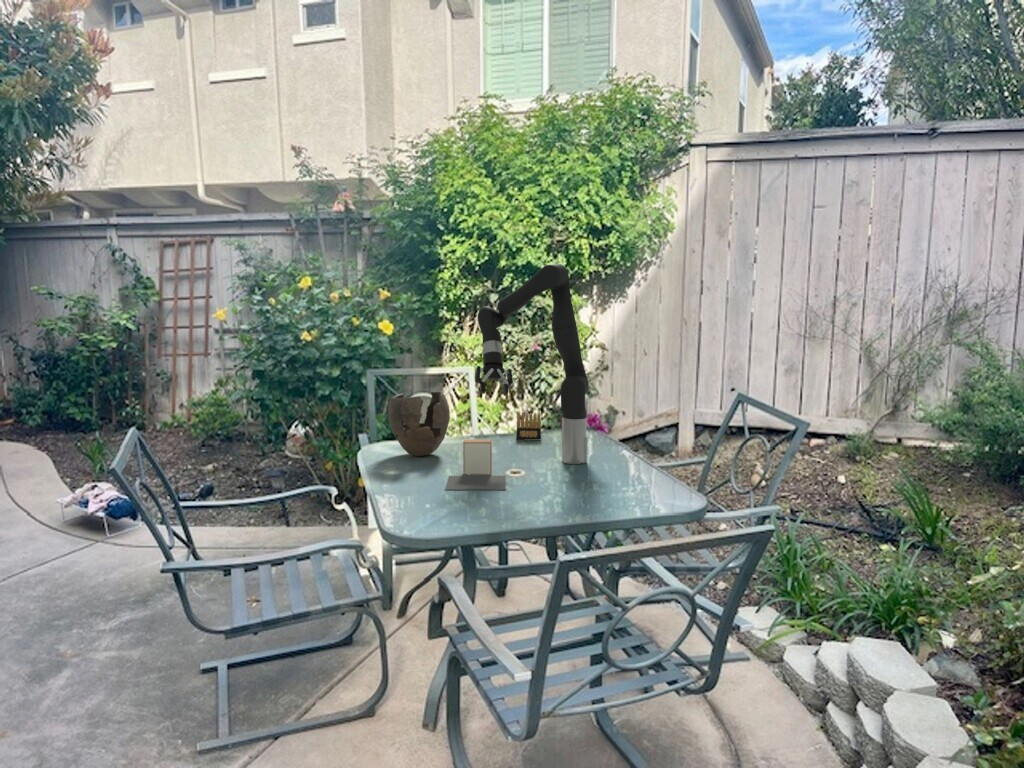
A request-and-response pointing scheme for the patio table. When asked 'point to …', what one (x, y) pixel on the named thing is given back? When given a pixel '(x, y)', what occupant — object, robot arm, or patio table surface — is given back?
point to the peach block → (477, 456)
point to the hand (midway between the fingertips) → (494, 393)
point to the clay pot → (415, 434)
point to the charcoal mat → (476, 483)
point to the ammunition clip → (528, 427)
